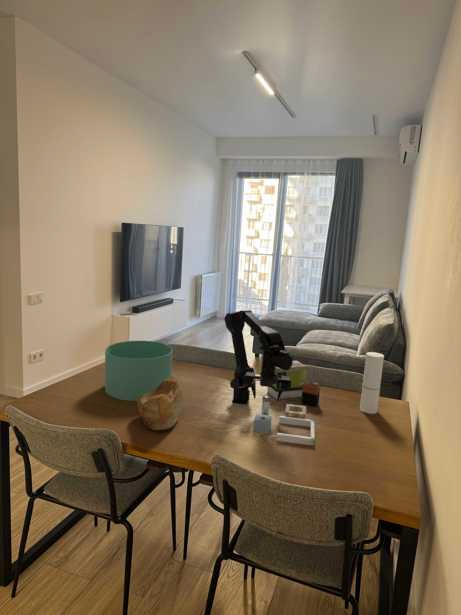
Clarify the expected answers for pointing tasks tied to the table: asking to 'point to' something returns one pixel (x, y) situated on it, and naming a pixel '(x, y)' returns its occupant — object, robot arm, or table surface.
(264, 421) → the block
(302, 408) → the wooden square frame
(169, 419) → the rough brown rock
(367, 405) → the cylindrical container
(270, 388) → the tea box
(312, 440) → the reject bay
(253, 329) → the robot arm
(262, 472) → the table surface
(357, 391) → the table surface
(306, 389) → the battery
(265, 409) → the cylinder
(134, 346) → the container
